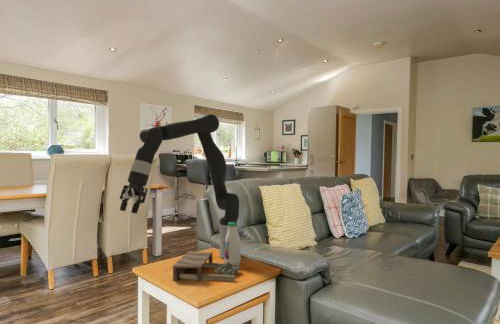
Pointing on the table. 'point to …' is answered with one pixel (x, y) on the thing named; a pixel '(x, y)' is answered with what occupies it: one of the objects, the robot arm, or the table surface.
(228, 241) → the milk bottle
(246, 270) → the table surface
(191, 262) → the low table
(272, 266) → the table surface
